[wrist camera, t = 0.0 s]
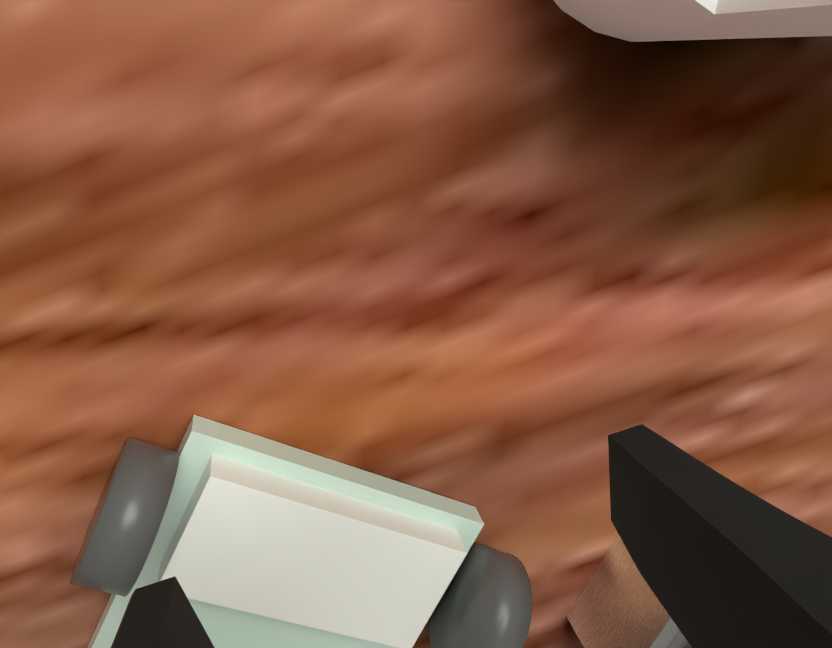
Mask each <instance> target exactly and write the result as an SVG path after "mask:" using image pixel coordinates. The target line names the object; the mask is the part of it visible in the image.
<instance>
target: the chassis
mask: <svg viewBox="0 0 832 648" xmlns="http://www.w3.org/2000/svg"><path fill="white" fill-rule="evenodd" d="M483 526H484V523H483V521H482V519H481V517H480V515H479V513H478V511H477V509H476V507H474V506H471V505H468V504H465V503H462V502H459V501H456V500H453V499H450V498H447V497H443V496H440V495H437V494H434V493H431V492H428V491H425V490H422V489H419V488H416V487H413V486H410V485H407V484H404V483H401V482H398V481H395V480H392V479H389V478H386V477H383V476H380V475H377V474H373V473H370V472H367V471H364V470H361V469H358V468H355V467H352V466H349V465H346V464H343V463H340V462H337V461H334V460H331V459H328V458H325V457H322V456H319V455H316V454H313V453H310V452H306V451H303V450H300V449H297V448H294V447H291V446H288V445H285V444H282V443H279V442H276V441H273V440H270V439H267V438H264V437H261V436H258V435H255V434H252V433H249V432H246V431H243V430H240V429H236V428H233V427H230V426H227V425H224V424H221V423H218V422H215V421H212V420H209V419H206V418H203V417H200V416H197V415H193V417H192V420H191V422H190V424H189V426H188V428H187V430H186V433H185V435H184V437H183V439H182V441H181V444H180V446H179V448H178V450H177V452H176V451H173V450H170V449H167V448H163V447H160V446H157V445H154V444H150V443H147V442H144V441H141V440H137V439H134V438H131V437H128V438H127V440H126V441H125V443H124V445H123V447H122V449H121V451H120V453H119V455H118V457H117V460H116V462H115V464H114V466H113V469H112V471H111V473H110V476H109V478H108V480H107V483H106V485H105V487H104V490H103V492H102V495H101V497H100V500H99V502H98V505H97V507H96V510H95V512H94V515H93V517H92V520H91V522H90V525H89V528H88V530H87V533H86V536H85V538H84V541H83V544H82V546H81V549H80V552H79V555H78V558H77V561H76V564H75V567H74V570H73V573H72V577H71V581H70V584H72V585H76V586H80V587H85V588H89V589H93V590H98V591H102V592H107V593H111V596H110V599H109V601H108V603H107V605H106V607H105V609H104V612H103V614H102V616H101V618H100V620H99V623H98V625H97V627H96V629H95V631H94V633H93V636H92V638H91V640H90V642H89V644H88V647H87V648H111V646H112V643H113V641H114V638H115V636H116V633H117V631H118V628H119V626H120V623H121V621H122V618H123V615H124V613H125V610H126V608H127V605H128V603H129V600H130V597H131V595H132V594H133V592H134V591H135V589H137V588H140V587H144V586H147V585H150V584H153V583H156V582H159V581H162V580H165V579H168V578H171V577H174V576H175V577H176V578H177V580H178V582H179V584H180V586H181V587H182V589H183V591H184V593H185V595H186V597H187V598H188V600H189V602H190V604H191V606H192V607H193V609H194V611H195V613H196V615H197V617H198V618H199V620H200V622H201V624H202V626H203V627H204V629H205V631H206V633H207V635H208V637H209V638H210V640H211V642H212V644H213V646H214V647H215V648H412V647H413V645H414V644H415V642H416V640H417V638H418V637H419V635H420V633H421V632H422V630H423V628H424V626H425V625H426V623H427V621H428V620H429V637H430V643H431V648H523V647H524V644H525V641H526V638H527V635H528V631H529V626H530V621H531V613H532V592H531V585H530V580H529V577H528V574H527V571H526V569H525V567H524V565H523V564H522V562H521V561H520V560H519V559H518V558H517V557H515V556H514V555H511V554H508V553H505V552H502V551H499V550H495V549H492V548H489V547H486V546H482V545H479V544H476V543H474V541H475V539H476V538H477V536H478V534H479V532H480V531H481V529H482V527H483Z"/></svg>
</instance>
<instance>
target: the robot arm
mask: <svg viewBox="0 0 832 648" xmlns="http://www.w3.org/2000/svg"><path fill="white" fill-rule="evenodd" d="M608 443H609V471H610V500H611V520H612V522H613V524H614V526H615V528H616V530H617V532H618V534H619V536H620V537H621V539H622V541H623V543H624V545H625V547H626V549H627V551H628V552H629V554H630V556H631V558H632V560H633V561H634V563H635V565H636V567H637V569H638V570H639V572H640V574H641V575H642V577H643V578H644V580H645V581H646V583H647V584H648V586H649V587H650V589H651V590H652V591H653V593H654V594H655V596H656V597H657V599H658V600H659V601H660V603H661V604H662V606H663V607H664V609H665V610H666V611H667V613H668V614H669V616H670V617H671V619H672V620H673V621H674V623H675V624H676V626H677V627H678V628H679V630H680V631H681V633H682V634H683V635H684V637H685V638H686V640H687V641H688V642H689V644H690V645H691V647H692V648H832V537H830V536H828V535H826V534H824V533H822V532H820V531H819V530H817V529H815V528H813V527H811V526H809V525H807V524H805V523H804V522H802V521H800V520H798V519H796V518H794V517H793V516H791V515H789V514H787V513H785V512H784V511H782V510H780V509H778V508H777V507H775V506H773V505H771V504H770V503H768V502H766V501H765V500H763V499H761V498H759V497H758V496H756V495H754V494H753V493H751V492H749V491H748V490H746V489H744V488H743V487H741V486H739V485H737V484H736V483H734V482H732V481H731V480H729V479H728V478H726V477H724V476H723V475H721V474H719V473H718V472H716V471H715V470H713V469H711V468H710V467H708V466H707V465H705V464H704V463H702V462H700V461H699V460H697V459H696V458H694V457H693V456H691V455H689V454H688V453H686V452H685V451H683V450H682V449H680V448H678V447H677V446H675V445H674V444H672V443H671V442H669V441H668V440H666V439H665V438H663V437H661V436H660V435H658V434H657V433H655V432H654V431H652V430H650V429H649V428H647V427H645V426H644V425H638V426H635V427H632V428H629V429H626V430H623V431H620V432H617V433H614V434H611V435H608ZM111 648H215V647H214V646H213V644H212V642H211V640H210V638H209V637H208V635H207V633H206V631H205V629H204V627H203V626H202V624H201V622H200V620H199V618H198V617H197V615H196V613H195V611H194V609H193V607H192V606H191V604H190V602H189V600H188V598H187V597H186V595H185V593H184V591H183V589H182V587H181V586H180V584H179V582H178V580H177V578H176V577H175V576H174V577H171V578H168V579H165V580H162V581H159V582H156V583H153V584H150V585H147V586H144V587H140V588H137V589H135V591H134V592H133V594H132V595H131V597H130V600H129V603H128V605H127V608H126V610H125V613H124V615H123V618H122V621H121V623H120V626H119V628H118V631H117V633H116V636H115V638H114V641H113V643H112V646H111Z"/></svg>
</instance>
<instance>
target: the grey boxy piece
mask: <svg viewBox="0 0 832 648" xmlns="http://www.w3.org/2000/svg"><path fill="white" fill-rule="evenodd" d="M566 617H567V619H568V621H569V622H570V624H571V626H572V628H573V629H574V631H575V633H576V635H577V636H578V638H579V640H580V642H581V643H582V645H583V647H584V648H692V647H691V645H690V644H689V642H688V641H687V640H686V638H685V637H684V635H683V634H682V633H681V631H680V630H679V628H678V627H677V626H676V624H675V623H674V621H673V620H672V619H671V617H670V616H669V614H668V613H667V611H666V610H665V609H664V607H663V606H662V604H661V603H660V601H659V600H658V599H657V597H656V596H655V594H654V593H653V591H652V590H651V589H650V587H649V586H648V584H647V583H646V581H645V580H644V578H643V577H642V575H641V574H640V572H639V570H638V569H637V567H636V565H635V563H634V561H633V560H632V558H631V556H630V554H629V552H628V551H627V549H626V547H625V545H624V543H623V541H622V539H621V537H620V536H619V534H618V536H617V538H616V539H615V541H614V542H613V544H612V545H611V547H610V548H609V550H608V552H607V553H606V555H605V556H604V558H603V559H602V561H601V563H600V564H599V566H598V567H597V569H596V570H595V572H594V573H593V575H592V577H591V578H590V580H589V581H588V583H587V584H586V586H585V588H584V589H583V591H582V592H581V594H580V595H579V597H578V599H577V600H576V602H575V603H574V605H573V606H572V608H571V609H570V611H569V613H568V614H567V616H566Z"/></svg>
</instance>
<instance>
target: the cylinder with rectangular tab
mask: <svg viewBox="0 0 832 648" xmlns="http://www.w3.org/2000/svg"><path fill="white" fill-rule="evenodd" d="M553 1H554V2H555V3H556V4H557V5H558V7H559V8H560V9H561V10H562V11H564V12H565V13H567V14H568V15H570V16H571V17H573V18H574V19H576V20H577V21H579V22H580V23H582V24H584V25H585V26H587V27H588V28H590V29H591V30H593V31H594V32H597V33H601V34H604V35H608V36H612V37H615V38H619V39H622V40H626V41H630V42H645V41H678V40H710V39H742V38H774V37H807V36H832V0H553Z"/></svg>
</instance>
